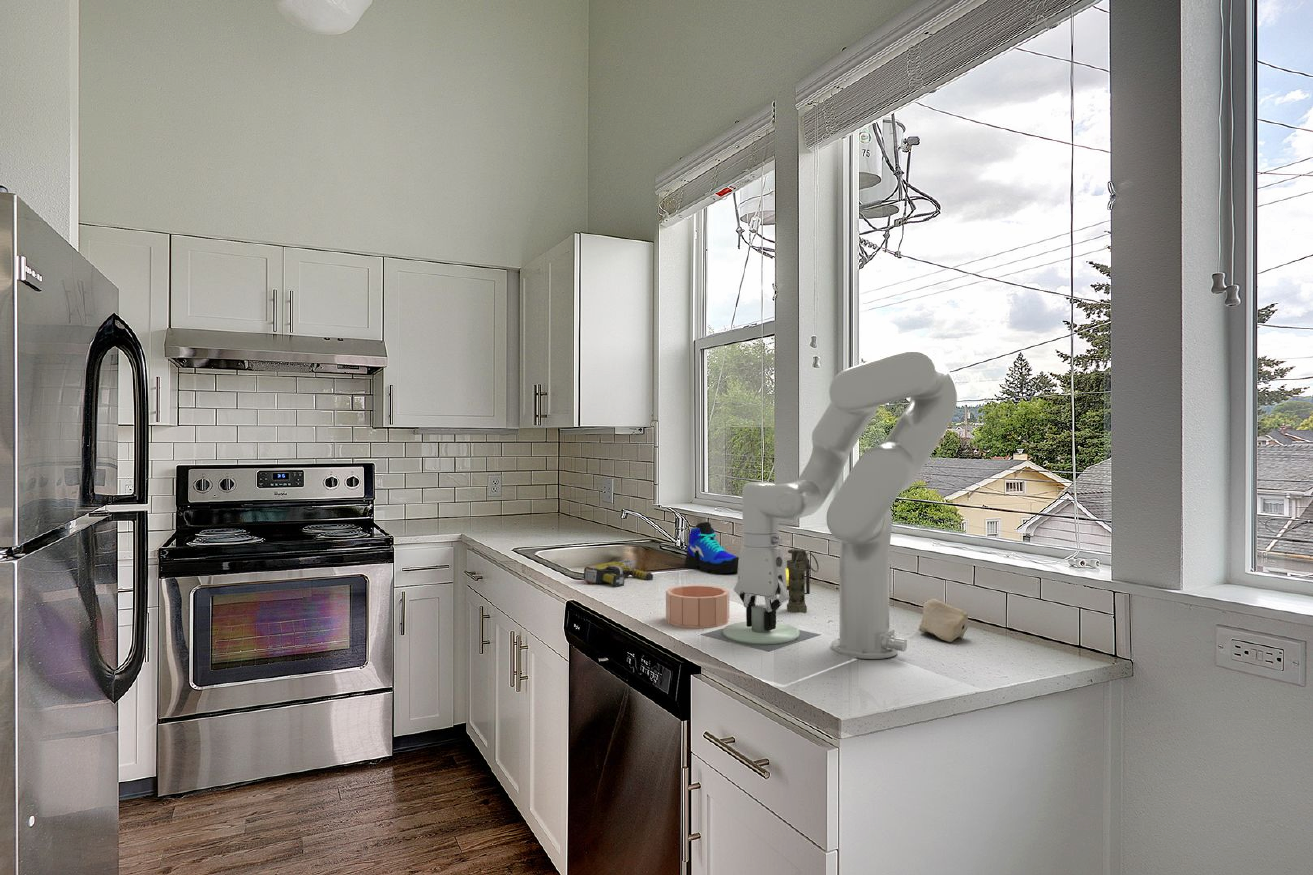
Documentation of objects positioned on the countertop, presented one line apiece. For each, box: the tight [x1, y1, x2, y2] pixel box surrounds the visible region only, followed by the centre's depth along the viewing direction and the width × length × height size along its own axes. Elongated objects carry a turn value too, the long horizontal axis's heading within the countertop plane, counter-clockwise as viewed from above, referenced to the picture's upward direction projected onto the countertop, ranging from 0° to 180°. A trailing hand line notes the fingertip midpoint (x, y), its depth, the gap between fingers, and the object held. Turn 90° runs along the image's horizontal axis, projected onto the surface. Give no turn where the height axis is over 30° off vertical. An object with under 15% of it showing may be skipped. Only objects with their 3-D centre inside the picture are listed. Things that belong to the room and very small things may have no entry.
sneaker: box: [684, 521, 739, 575], centre depth 245 cm, size 9×24×15 cm, turn 33°
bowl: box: [665, 584, 730, 629], centre depth 177 cm, size 14×14×7 cm
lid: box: [723, 604, 800, 645], centre depth 164 cm, size 16×16×6 cm
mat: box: [699, 627, 822, 652], centre depth 165 cm, size 18×18×1 cm
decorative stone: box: [918, 598, 969, 643], centre depth 165 cm, size 7×13×7 cm, turn 24°
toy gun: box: [582, 559, 654, 587], centre depth 230 cm, size 5×24×15 cm
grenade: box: [786, 548, 820, 614], centre depth 187 cm, size 9×6×15 cm, turn 118°
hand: (761, 626), depth 164 cm, fingers closed on lid, 4 cm apart
